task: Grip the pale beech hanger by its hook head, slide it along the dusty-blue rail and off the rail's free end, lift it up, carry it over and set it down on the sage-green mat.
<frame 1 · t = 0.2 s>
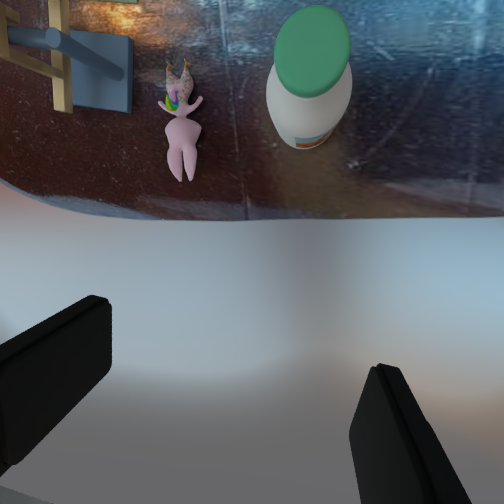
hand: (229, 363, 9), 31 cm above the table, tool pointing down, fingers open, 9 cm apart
hanger: (65, 62, 35), point 3 cm above the table, touching rail stand
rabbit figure: (188, 126, 38), on the table
rail stand: (97, 73, 38), on the table
milk bottle: (305, 118, 35), on the table
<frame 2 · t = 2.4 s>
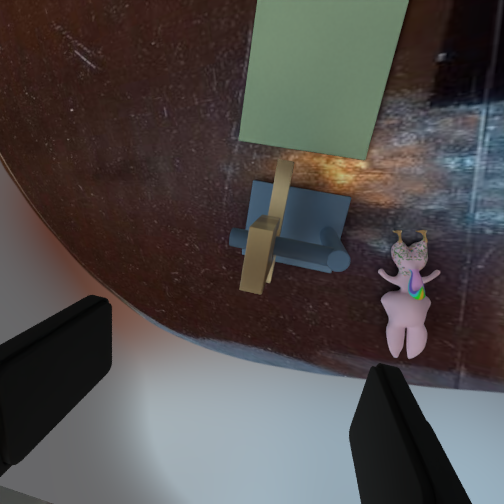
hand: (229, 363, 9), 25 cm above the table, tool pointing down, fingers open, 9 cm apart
mat: (321, 44, 27), on the table
hanger: (274, 227, 29), point 3 cm above the table, touching rail stand
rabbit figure: (400, 288, 32), on the table
rail stand: (293, 226, 32), on the table
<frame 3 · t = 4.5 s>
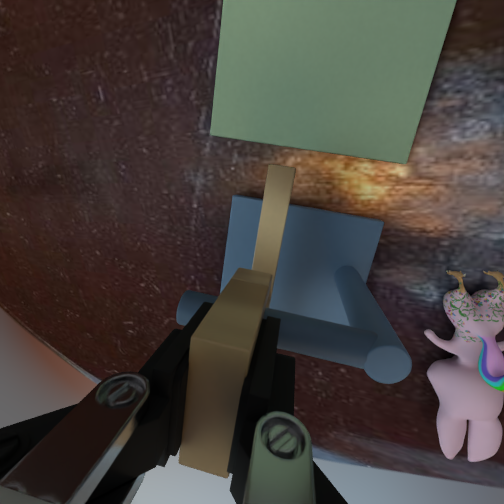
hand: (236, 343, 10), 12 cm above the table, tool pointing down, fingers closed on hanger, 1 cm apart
hanger: (265, 269, 19), point 3 cm above the table, touching gripper, rail stand
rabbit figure: (453, 352, 22), on the table
rail stand: (294, 261, 22), on the table
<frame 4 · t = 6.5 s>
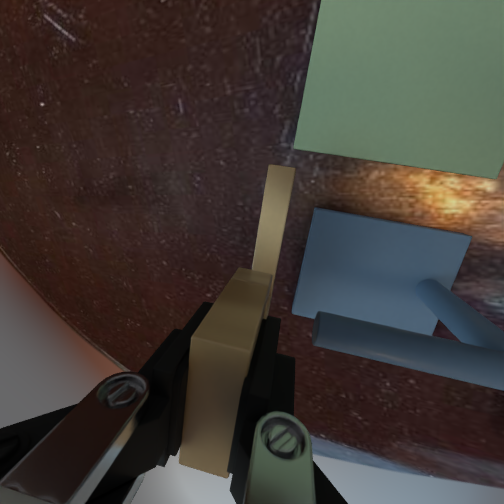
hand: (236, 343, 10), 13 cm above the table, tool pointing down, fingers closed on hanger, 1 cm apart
hanger: (265, 269, 19), point 4 cm above the table, touching gripper
rail stand: (369, 273, 22), on the table
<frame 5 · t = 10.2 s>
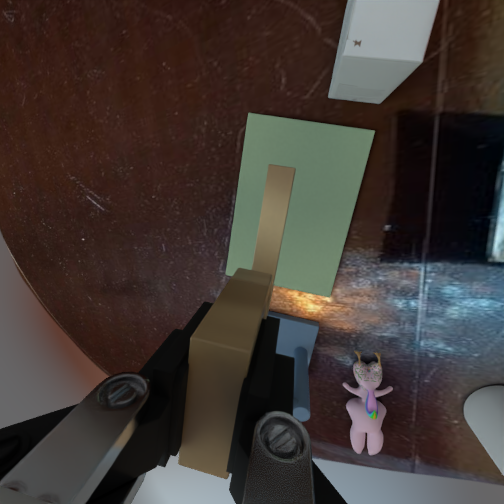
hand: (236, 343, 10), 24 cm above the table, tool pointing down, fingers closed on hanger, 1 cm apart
small box: (362, 59, 28), on the table
mat: (291, 210, 33), on the table
hanger: (265, 269, 19), point 15 cm above the table, touching gripper
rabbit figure: (363, 392, 38), on the table
rail stand: (272, 340, 38), on the table
milk bottle: (493, 406, 35), on the table
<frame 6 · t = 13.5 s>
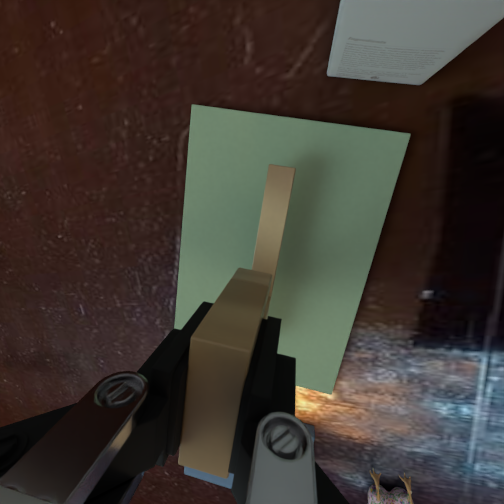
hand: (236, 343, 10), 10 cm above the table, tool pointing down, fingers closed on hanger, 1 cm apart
small box: (389, 4, 15), on the table
mat: (269, 262, 20), on the table
hanger: (265, 269, 19), point 1 cm above the table, touching gripper
rail stand: (246, 445, 26), on the table
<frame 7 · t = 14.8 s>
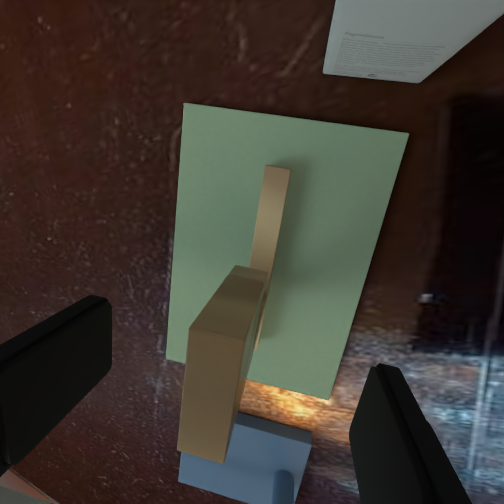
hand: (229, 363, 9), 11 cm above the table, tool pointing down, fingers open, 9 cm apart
mat: (264, 265, 20), on the table
hanger: (262, 267, 19), resting on mat
rail stand: (242, 451, 25), on the table
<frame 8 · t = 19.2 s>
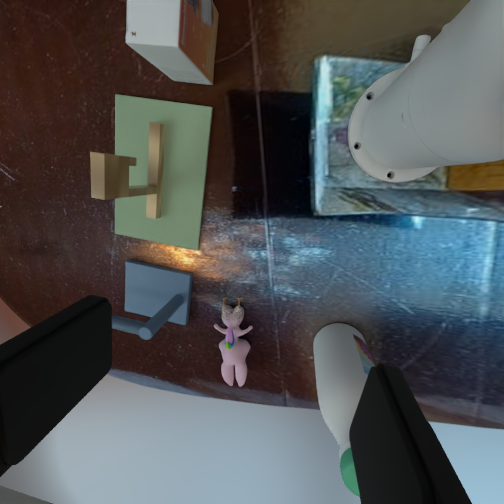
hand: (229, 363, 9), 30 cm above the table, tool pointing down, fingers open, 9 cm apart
small box: (196, 49, 34), on the table
mat: (159, 176, 39), on the table
hanger: (157, 176, 39), resting on mat
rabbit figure: (236, 335, 45), on the table
rail stand: (159, 291, 45), on the table
milk bottle: (338, 342, 42), on the table
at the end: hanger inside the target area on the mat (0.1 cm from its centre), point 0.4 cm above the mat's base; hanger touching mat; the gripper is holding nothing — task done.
